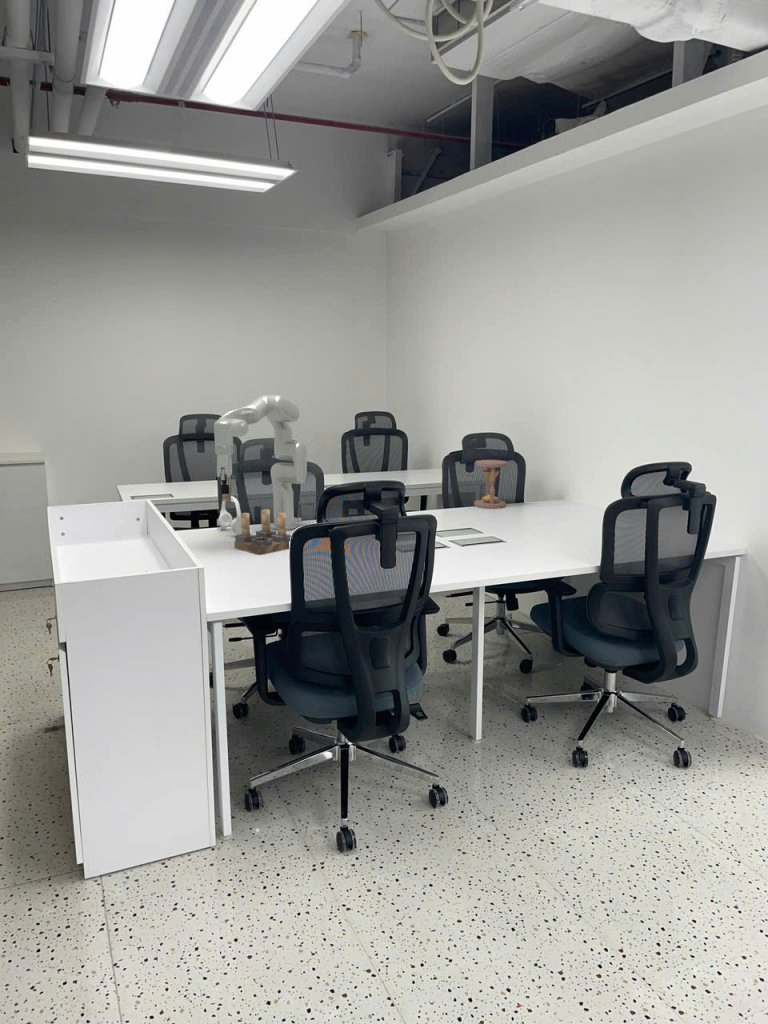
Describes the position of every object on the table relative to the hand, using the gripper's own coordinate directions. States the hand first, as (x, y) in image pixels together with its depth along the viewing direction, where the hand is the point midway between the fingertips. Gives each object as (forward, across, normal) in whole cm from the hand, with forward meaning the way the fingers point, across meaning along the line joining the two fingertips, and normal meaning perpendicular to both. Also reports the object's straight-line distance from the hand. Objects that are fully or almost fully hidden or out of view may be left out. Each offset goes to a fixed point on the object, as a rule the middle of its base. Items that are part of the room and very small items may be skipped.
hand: (226, 492), depth 321 cm
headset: (+25, -28, -4) cm, 38 cm away
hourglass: (+26, -96, +129) cm, 163 cm away
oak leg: (+3, 0, 0) cm, 3 cm away
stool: (+24, +1, +15) cm, 29 cm away
